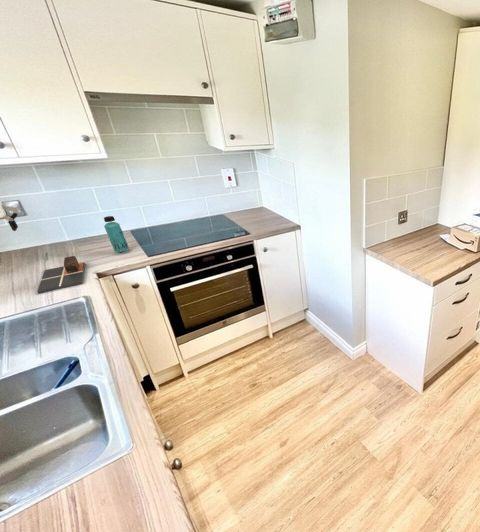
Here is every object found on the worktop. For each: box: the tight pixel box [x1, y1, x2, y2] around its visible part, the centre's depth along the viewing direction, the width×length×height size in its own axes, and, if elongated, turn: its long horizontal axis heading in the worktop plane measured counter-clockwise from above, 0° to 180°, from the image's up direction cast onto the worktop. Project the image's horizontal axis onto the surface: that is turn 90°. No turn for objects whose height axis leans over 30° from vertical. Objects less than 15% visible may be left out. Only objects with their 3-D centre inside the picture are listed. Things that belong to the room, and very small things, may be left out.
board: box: [36, 261, 86, 294], centre depth 148 cm, size 14×24×1 cm, turn 39°
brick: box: [63, 255, 80, 273], centre depth 152 cm, size 11×4×5 cm, turn 41°
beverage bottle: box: [103, 215, 129, 253], centre depth 169 cm, size 6×7×20 cm
